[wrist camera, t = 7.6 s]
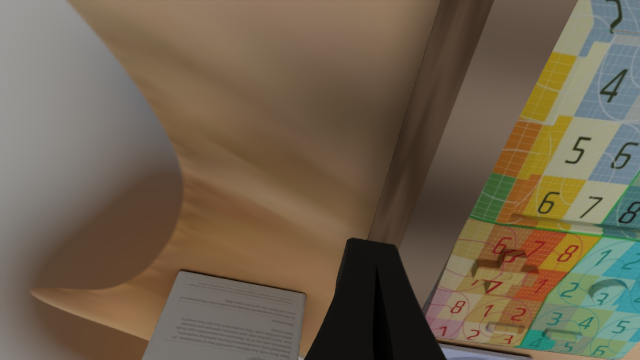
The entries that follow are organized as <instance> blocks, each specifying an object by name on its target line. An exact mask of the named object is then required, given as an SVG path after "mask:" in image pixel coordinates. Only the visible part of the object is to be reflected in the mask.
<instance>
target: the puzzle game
mask: <svg viewBox="0 0 640 360" xmlns="http://www.w3.org/2000/svg"><path fill="white" fill-rule="evenodd" d="M422 311H423V313H424V316H425V318H426V320H427V322H428V324H429V326H430V328H431V330H432V332H433V334H434V336H435V337H436V338H444V339H452V340H460V341H468V342H476V343H484V344H492V345H500V346H508V347H516V348H524V349H532V350H540V351H548V352H556V353H564V354H572V355H580V356H588V357H596V358H604V359H612V360H614V359H620V358H623V357H624V356H625V355H626V354H627V353H628V352H629V351H630V350H631V349H632V348H633V347H634V346H635V345H636V344H637V343H638V342H639V341H640V0H578V2H577V4H576V6H575V8H574V10H573V12H572V14H571V16H570V18H569V20H568V22H567V23H566V25H565V27H564V29H563V31H562V33H561V35H560V37H559V39H558V41H557V43H556V45H555V47H554V49H553V51H552V53H551V55H550V57H549V59H548V61H547V63H546V65H545V67H544V69H543V71H542V73H541V75H540V77H539V79H538V81H537V83H536V85H535V87H534V89H533V91H532V93H531V95H530V97H529V99H528V101H527V103H526V105H525V107H524V109H523V111H522V113H521V115H520V117H519V119H518V121H517V123H516V124H515V126H514V128H513V130H512V132H511V134H510V136H509V138H508V140H507V142H506V144H505V146H504V148H503V150H502V152H501V154H500V156H499V158H498V160H497V162H496V164H495V166H494V168H493V170H492V172H491V174H490V176H489V178H488V180H487V182H486V184H485V186H484V188H483V190H482V192H481V194H480V196H479V198H478V200H477V202H476V204H475V206H474V208H473V210H472V212H471V214H470V216H469V218H468V220H467V222H466V224H465V225H464V227H463V229H462V231H461V233H460V235H459V237H458V239H457V241H456V243H455V245H454V247H453V249H452V251H451V253H450V255H449V257H448V259H447V261H446V263H445V265H444V267H443V269H442V271H441V273H440V275H439V277H438V279H437V281H436V283H435V285H434V287H433V289H432V291H431V293H430V295H429V297H428V299H427V301H426V303H425V305H424V307H423V309H422Z"/></svg>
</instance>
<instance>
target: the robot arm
mask: <svg viewBox="0 0 640 360" xmlns="http://www.w3.org/2000/svg"><path fill="white" fill-rule="evenodd" d="M304 360H533V359H532V358H529V357H523V356H516V355H510V354H504V353H497V352H491V351H484V350H478V349H472V348H465V347H459V346H453V345H446V344H440V343H438V342H437V340H436V338H435V336H434V334H433V332H432V330H431V328H430V326H429V324H428V322H427V320H426V318H425V316H424V313H423V311H422V309H421V307H420V305H419V303H418V300H417V298H416V296H415V294H414V291H413V289H412V286H411V284H410V281H409V279H408V276H407V274H406V271H405V269H404V266H403V263H402V260H401V257H400V254H399V251H398V248H397V247H396V246H395V245H394V244H388V243H382V242H376V241H369V240H363V239H357V238H350V239H348V240H347V243H346V247H345V250H344V254H343V258H342V262H341V265H340V269H339V273H338V276H337V281H336V288H335V294H334V297H333V300H332V302H331V305H330V307H329V309H328V312H327V314H326V316H325V318H324V321H323V323H322V325H321V327H320V330H319V332H318V334H317V336H316V338H315V340H314V342H313V344H312V346H311V348H310V350H309V351H308V353H307V355H306V357H305V359H304Z"/></svg>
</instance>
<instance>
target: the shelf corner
mask: <svg viewBox="0 0 640 360" xmlns="http://www.w3.org/2000/svg"><path fill="white" fill-rule="evenodd" d="M577 2H578V0H441V2H440V5H439V8H438V12H437V15H436V18H435V21H434V25H433V28H432V31H431V34H430V38H429V41H428V44H427V47H426V51H425V54H424V57H423V60H422V64H421V67H420V70H419V74H418V77H417V80H416V83H415V87H414V90H413V93H412V96H411V100H410V103H409V106H408V109H407V113H406V116H405V119H404V122H403V126H402V129H401V132H400V135H399V139H398V142H397V145H396V149H395V152H394V155H393V158H392V162H391V165H390V168H389V171H388V175H387V178H386V181H385V184H384V188H383V191H382V194H381V197H380V201H379V204H378V207H377V210H376V214H375V217H374V220H373V223H372V227H371V230H370V233H369V237H368V240H369V241H376V242H382V243H388V244H394V245H395V246H396V247H397V248H398V251H399V254H400V257H401V260H402V263H403V266H404V269H405V271H406V274H407V276H408V279H409V281H410V284H411V286H412V289H413V291H414V294H415V296H416V298H417V300H418V303H419V305H420V307H421V309H423V307H424V305H425V303H426V301H427V299H428V297H429V295H430V293H431V291H432V289H433V287H434V285H435V283H436V281H437V279H438V277H439V275H440V273H441V271H442V269H443V267H444V265H445V263H446V261H447V259H448V257H449V255H450V253H451V251H452V249H453V247H454V245H455V243H456V241H457V239H458V237H459V235H460V233H461V231H462V229H463V227H464V225H465V224H466V222H467V220H468V218H469V216H470V214H471V212H472V210H473V208H474V206H475V204H476V202H477V200H478V198H479V196H480V194H481V192H482V190H483V188H484V186H485V184H486V182H487V180H488V178H489V176H490V174H491V172H492V170H493V168H494V166H495V164H496V162H497V160H498V158H499V156H500V154H501V152H502V150H503V148H504V146H505V144H506V142H507V140H508V138H509V136H510V134H511V132H512V130H513V128H514V126H515V124H516V123H517V121H518V119H519V117H520V115H521V113H522V111H523V109H524V107H525V105H526V103H527V101H528V99H529V97H530V95H531V93H532V91H533V89H534V87H535V85H536V83H537V81H538V79H539V77H540V75H541V73H542V71H543V69H544V67H545V65H546V63H547V61H548V59H549V57H550V55H551V53H552V51H553V49H554V47H555V45H556V43H557V41H558V39H559V37H560V35H561V33H562V31H563V29H564V27H565V25H566V23H567V22H568V20H569V18H570V16H571V14H572V12H573V10H574V8H575V6H576V4H577Z"/></svg>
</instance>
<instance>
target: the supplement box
mask: <svg viewBox="0 0 640 360" xmlns="http://www.w3.org/2000/svg"><path fill="white" fill-rule="evenodd" d="M305 301H306V296H305V294H303V293H297V292H292V291H286V290H281V289H276V288H270V287H265V286H260V285H254V284H249V283H244V282H238V281H233V280H228V279H222V278H217V277H212V276H206V275H201V274H196V273H190V272H185V271H180V272H179V273H178V275H177V278H176V280H175V282H174V285H173V287H172V290H171V292H170V294H169V297H168V299H167V302H166V304H165V306H164V309H163V311H162V313H161V315H160V318H159V320H158V323H157V325H156V327H155V330H154V332H153V334H152V337H151V339H150V342H149V344H148V346H147V349H146V351H145V353H144V356H143V358H142V360H298V356H299V348H300V340H301V331H302V323H303V315H304V308H305Z"/></svg>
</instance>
